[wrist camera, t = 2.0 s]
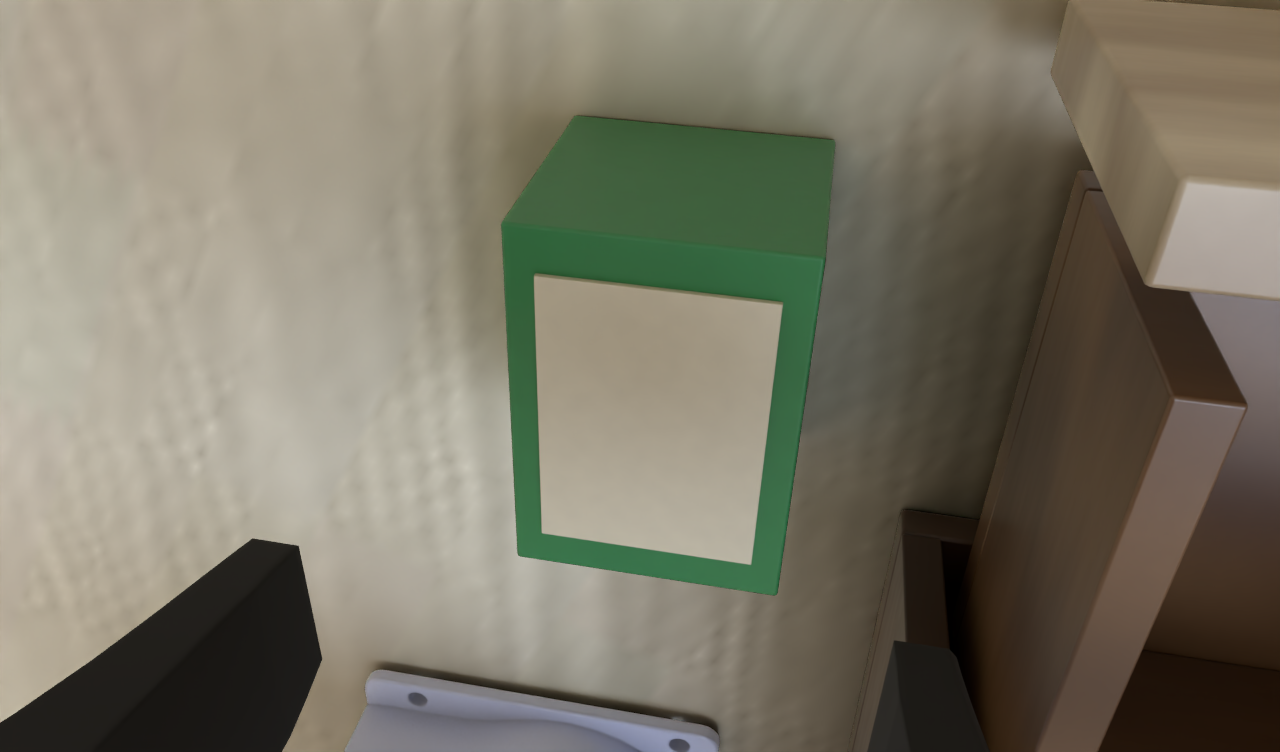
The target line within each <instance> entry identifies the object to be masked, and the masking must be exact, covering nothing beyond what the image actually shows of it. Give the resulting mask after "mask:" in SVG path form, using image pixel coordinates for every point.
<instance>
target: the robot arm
mask: <svg viewBox="0 0 1280 752" xmlns="http://www.w3.org/2000/svg"><path fill="white" fill-rule="evenodd" d="M321 661H322V656H321V651H320V646H319V642H318V637H317V632H316V627H315V622H314V618H313V613H312V608H311V603H310V598H309V594H308V589H307V584H306V579H305V574H304V570H303V565H302V560H301V555H300V551H299V546H296V545H290V544H283V543H277V542H271V541H264V540H258V539H251V540H250V541H249V542H247V543H246V544H245V545H243V546H242V547H241V548H239V549H238V550H237V551H235V552H234V553H233V554H231V555H230V556H229V557H227V558H226V559H225V560H223V561H222V562H221V563H220V564H218V565H217V566H216V567H214V568H213V569H212V570H210V571H209V572H208V573H206V574H205V575H204V576H203V577H201V578H200V579H199V580H197V581H196V582H195V583H194V584H192V585H191V586H190V587H188V588H187V589H186V590H184V591H183V592H182V593H181V594H179V595H178V596H177V597H175V598H174V599H173V600H171V601H170V602H169V603H168V604H166V605H165V606H164V607H162V608H161V609H160V610H158V611H157V612H156V613H154V614H153V615H152V616H151V617H149V618H148V619H147V620H145V621H144V622H143V623H141V624H140V625H139V626H137V627H136V628H135V629H133V630H132V631H131V632H129V633H128V634H126V635H125V636H124V637H122V638H121V639H120V640H118V641H117V642H116V643H114V644H113V645H112V646H110V647H109V648H108V649H106V650H105V651H104V652H102V653H101V654H100V655H98V656H97V657H96V658H94V659H93V660H91V661H90V662H89V663H87V664H86V665H84V666H83V667H81V668H80V669H79V670H77V671H76V672H74V673H73V674H71V675H70V676H68V677H67V678H66V679H64V680H63V681H61V682H60V683H58V684H57V685H55V686H54V687H52V688H51V689H50V690H48V691H47V692H45V693H44V694H42V695H41V696H39V697H38V698H37V699H35V700H34V701H32V702H31V703H29V704H28V705H26V706H25V707H23V708H22V709H21V710H19V711H18V712H16V713H15V714H13V715H12V716H10V717H9V718H7V719H6V720H4V721H2V722H1V723H0V752H282V750H283V749H284V747H285V745H286V743H287V741H288V740H289V738H290V736H291V733H292V731H293V729H294V727H295V724H296V722H297V720H298V717H299V715H300V713H301V710H302V708H303V706H304V703H305V701H306V699H307V696H308V694H309V691H310V689H311V686H312V684H313V681H314V678H315V676H316V673H317V671H318V668H319V666H320V663H321ZM365 693H366V698H367V704H368V705H367V706H366V708H365V710H364V712H363V714H362V716H361V718H360V720H359V722H358V724H357V726H356V728H355V730H354V732H353V734H352V736H351V738H350V740H349V742H348V744H347V746H346V748H345V750H344V752H719V745H720V739H719V735H718V734H717V733H716V731H714V730H713V729H711V728H710V727H708V726H705V725H701V724H695V723H689V722H684V721H678V720H672V719H666V718H661V717H655V716H649V715H643V714H637V713H632V712H626V711H620V710H614V709H609V708H603V707H597V706H591V705H585V704H580V703H574V702H568V701H562V700H557V699H551V698H545V697H539V696H534V695H528V694H522V693H516V692H510V691H505V690H499V689H493V688H487V687H482V686H476V685H470V684H464V683H458V682H453V681H447V680H441V679H435V678H430V677H424V676H418V675H412V674H407V673H401V672H395V671H389V670H376V671H373V672H372V673H371V674H370V675H369V677H368V679H367V681H366V683H365ZM867 752H990V751H989V748H988V746H987V743H986V741H985V738H984V736H983V733H982V731H981V728H980V725H979V723H978V720H977V717H976V715H975V712H974V709H973V706H972V704H971V701H970V698H969V695H968V692H967V689H966V686H965V683H964V680H963V677H962V674H961V671H960V667H959V664H958V660H957V657H956V656H955V655H954V654H953V653H952V652H951V651H950V649H947V648H941V647H934V646H928V645H922V644H915V643H909V642H903V641H896V640H894V642H893V646H892V650H891V654H890V659H889V663H888V667H887V671H886V675H885V679H884V684H883V688H882V692H881V696H880V700H879V704H878V709H877V713H876V717H875V721H874V725H873V729H872V734H871V738H870V742H869V746H868V750H867Z"/></svg>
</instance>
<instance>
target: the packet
mask: <svg viewBox="0 0 1280 752" xmlns="http://www.w3.org/2000/svg"><path fill="white" fill-rule="evenodd" d="M834 153H835V141H834V140H828V139H818V138H807V137H797V136H786V135H776V134H765V133H754V132H744V131H733V130H723V129H712V128H702V127H691V126H681V125H670V124H660V123H649V122H638V121H628V120H617V119H607V118H596V117H586V116H574V118H573V119H572V121H571V122H570V123H569V125H568V126H567V128H566V129H565V131H564V132H563V134H562V135H561V137H560V138H559V139H558V141H557V142H556V144H555V145H554V147H553V148H552V150H551V151H550V153H549V154H548V156H547V157H546V158H545V160H544V161H543V163H542V164H541V166H540V167H539V169H538V170H537V172H536V173H535V174H534V176H533V177H532V179H531V180H530V182H529V183H528V185H527V186H526V188H525V189H524V191H523V192H522V193H521V195H520V196H519V198H518V199H517V201H516V202H515V204H514V205H513V207H512V208H511V210H510V211H509V212H508V214H507V215H506V217H505V218H504V220H503V221H502V223H501V231H502V251H503V271H504V291H505V311H506V332H507V352H508V372H509V392H510V412H511V433H512V453H513V473H514V493H515V513H516V533H517V553H518V555H519V556H522V557H528V558H534V559H541V560H547V561H554V562H560V563H567V564H573V565H580V566H586V567H593V568H599V569H606V570H612V571H618V572H625V573H631V574H638V575H644V576H651V577H657V578H664V579H670V580H677V581H683V582H690V583H696V584H702V585H709V586H715V587H722V588H728V589H735V590H741V591H748V592H754V593H761V594H767V595H773V596H774V595H776V594H777V593H778V587H779V580H780V573H781V566H782V559H783V552H784V545H785V538H786V531H787V524H788V517H789V510H790V503H791V496H792V490H793V483H794V476H795V469H796V462H797V455H798V448H799V441H800V434H801V427H802V420H803V413H804V406H805V399H806V392H807V385H808V378H809V372H810V365H811V358H812V351H813V344H814V337H815V330H816V323H817V316H818V309H819V302H820V295H821V288H822V281H823V274H824V267H825V260H826V249H827V237H828V225H829V213H830V201H831V189H832V177H833V165H834Z"/></svg>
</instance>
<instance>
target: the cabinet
mask: <svg viewBox="0 0 1280 752" xmlns="http://www.w3.org/2000/svg"><path fill="white" fill-rule="evenodd" d="M978 524H979V520H976V519H968V518H961V517H954V516H947V515H940V514H933V513H926V512H919V511H912V510H903V511H902V512H901V513H900V518H899V522H898V527H897V531H896V536H895V540H894V545H893V549H892V553H891V558H890V562H889V567H888V571H887V576H886V580H885V585H884V589H883V594H882V598H881V603H880V607H879V612H878V616H877V621H876V625H875V630H874V634H873V639H872V643H871V648H870V652H869V657H868V661H867V666H866V670H865V675H864V679H863V684H862V688H861V693H860V697H859V702H858V706H857V711H856V715H855V720H854V724H853V728H852V733H851V737H850V742H849V746H848V751H847V752H867V750H868V746H869V742H870V738H871V734H872V729H873V725H874V721H875V717H876V713H877V709H878V704H879V700H880V696H881V692H882V688H883V684H884V679H885V675H886V671H887V667H888V663H889V659H890V654H891V650H892V646H893V642H894V640H896V641H903V642H909V643H915V644H922V645H928V646H934V647H941V648H947V649H950V651H951V652H952V653H953V654H954V655H955V651H954V647H955V645H954V638H953V626H952V617H953V613H954V610H955V606H956V602H957V599H958V595H959V592H960V588H961V585H962V581H963V577H964V574H965V570H966V567H967V563H968V560H969V556H970V552H971V549H972V545H973V542H974V538H975V535H976V531H977V527H978Z"/></svg>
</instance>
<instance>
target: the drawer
mask: <svg viewBox="0 0 1280 752" xmlns="http://www.w3.org/2000/svg"><path fill="white" fill-rule="evenodd" d="M1051 76H1052V78H1053V81H1054V83H1055V85H1056V87H1057V89H1058V92H1059V94H1060V96H1061V98H1062V101H1063V103H1064V105H1065V107H1066V110H1067V112H1068V114H1069V116H1070V119H1071V121H1072V123H1073V125H1074V128H1075V130H1076V132H1077V134H1078V137H1079V139H1080V141H1081V143H1082V146H1083V148H1084V150H1085V152H1086V154H1087V157H1088V159H1089V161H1090V163H1091V166H1092V168H1093V170H1094V171H1086V170H1079V171H1078V172H1077V174H1076V178H1075V181H1074V185H1073V188H1072V192H1071V195H1070V199H1069V203H1068V206H1067V210H1066V213H1065V217H1064V220H1063V224H1062V228H1061V231H1060V235H1059V238H1058V242H1057V245H1056V249H1055V253H1054V256H1053V260H1052V263H1051V267H1050V270H1049V274H1048V278H1047V281H1046V285H1045V288H1044V292H1043V295H1042V299H1041V303H1040V306H1039V310H1038V313H1037V317H1036V320H1035V324H1034V328H1033V331H1032V335H1031V338H1030V342H1029V345H1028V349H1027V353H1026V356H1025V360H1024V363H1023V367H1022V370H1021V374H1020V378H1019V381H1018V385H1017V388H1016V392H1015V395H1014V399H1013V402H1012V406H1011V410H1010V413H1009V417H1008V420H1007V424H1006V427H1005V431H1004V435H1003V438H1002V442H1001V445H1000V449H999V452H998V456H997V460H996V463H995V467H994V470H993V474H992V477H991V481H990V485H989V488H988V492H987V495H986V499H985V502H984V506H983V510H982V513H981V517H980V520H979V524H978V527H977V531H976V535H975V538H974V542H973V545H972V549H971V552H970V556H969V560H968V563H967V567H966V570H965V574H964V577H963V581H962V585H961V588H960V592H959V595H958V599H957V602H956V606H955V610H954V613H953V617H952V626H953V638H954V645H955V647H954V651H955V656H956V657H957V660H958V664H959V667H960V671H961V674H962V677H963V680H964V683H965V686H966V689H967V692H968V695H969V698H970V701H971V704H972V706H973V709H974V712H975V715H976V717H977V720H978V723H979V725H980V728H981V731H982V733H983V736H984V738H985V741H986V743H987V746H988V748H989V751H990V752H1280V10H1269V9H1256V8H1242V7H1228V6H1215V5H1201V4H1188V3H1174V2H1161V1H1147V0H1068V4H1067V8H1066V12H1065V16H1064V20H1063V24H1062V28H1061V32H1060V36H1059V40H1058V44H1057V48H1056V52H1055V56H1054V60H1053V64H1052V68H1051Z"/></svg>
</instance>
